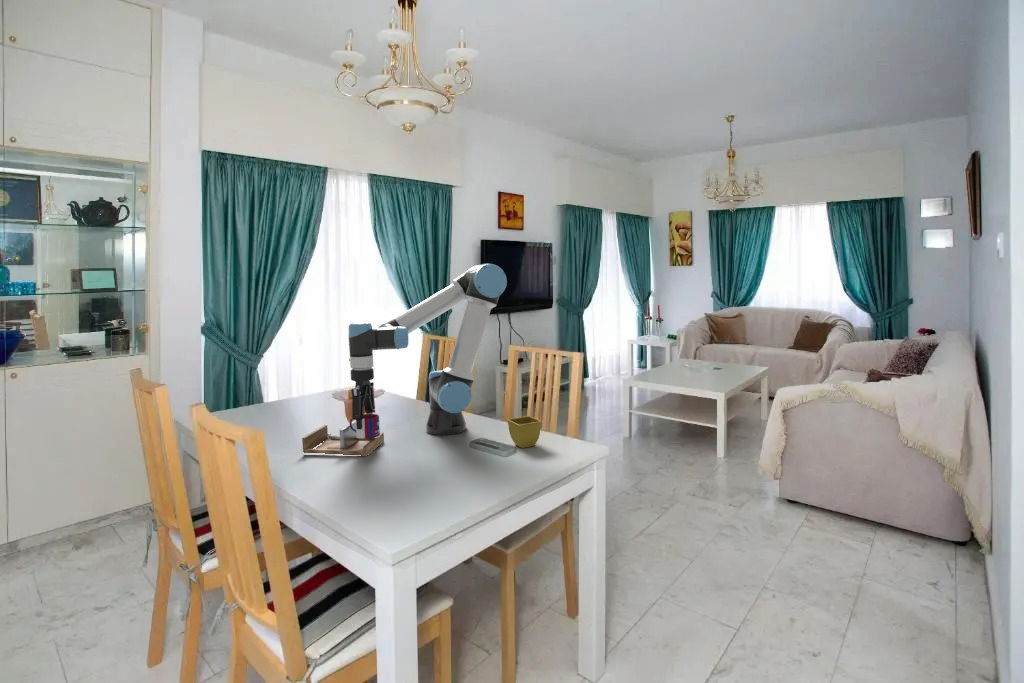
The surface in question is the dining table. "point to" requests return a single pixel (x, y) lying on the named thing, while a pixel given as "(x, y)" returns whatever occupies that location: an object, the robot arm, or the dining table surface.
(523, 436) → the flower pot
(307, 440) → the wooden tray
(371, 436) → the mug
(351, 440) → the pusher
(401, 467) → the dining table surface
